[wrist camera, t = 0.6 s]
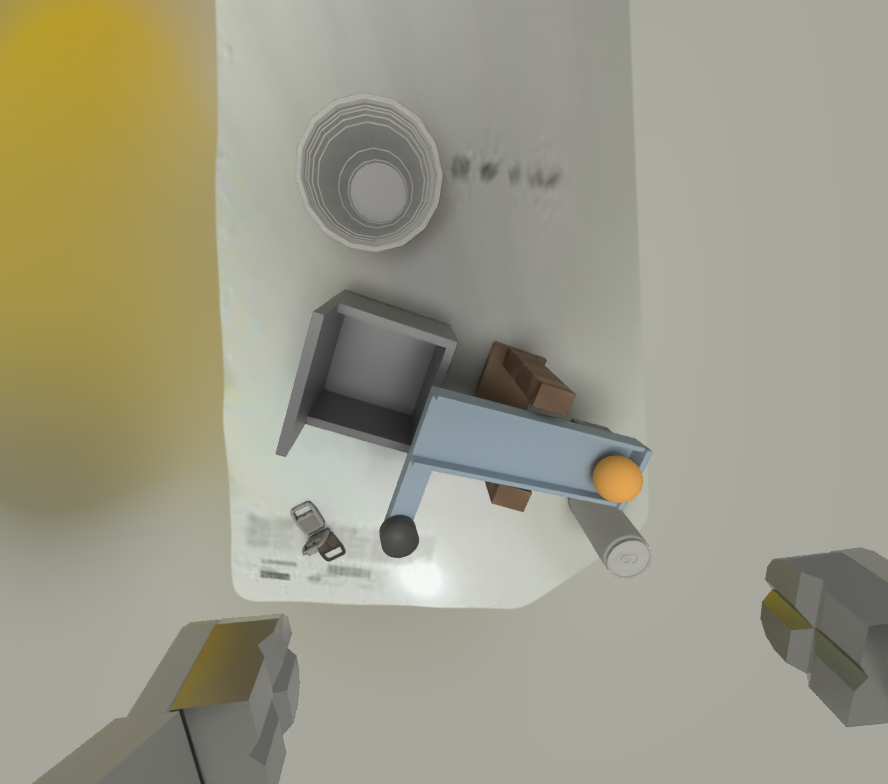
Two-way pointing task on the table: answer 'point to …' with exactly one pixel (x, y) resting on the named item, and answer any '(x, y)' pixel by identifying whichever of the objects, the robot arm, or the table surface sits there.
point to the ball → (617, 479)
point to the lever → (499, 456)
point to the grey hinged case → (311, 524)
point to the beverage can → (613, 538)
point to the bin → (367, 372)
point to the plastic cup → (368, 172)
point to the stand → (520, 400)
